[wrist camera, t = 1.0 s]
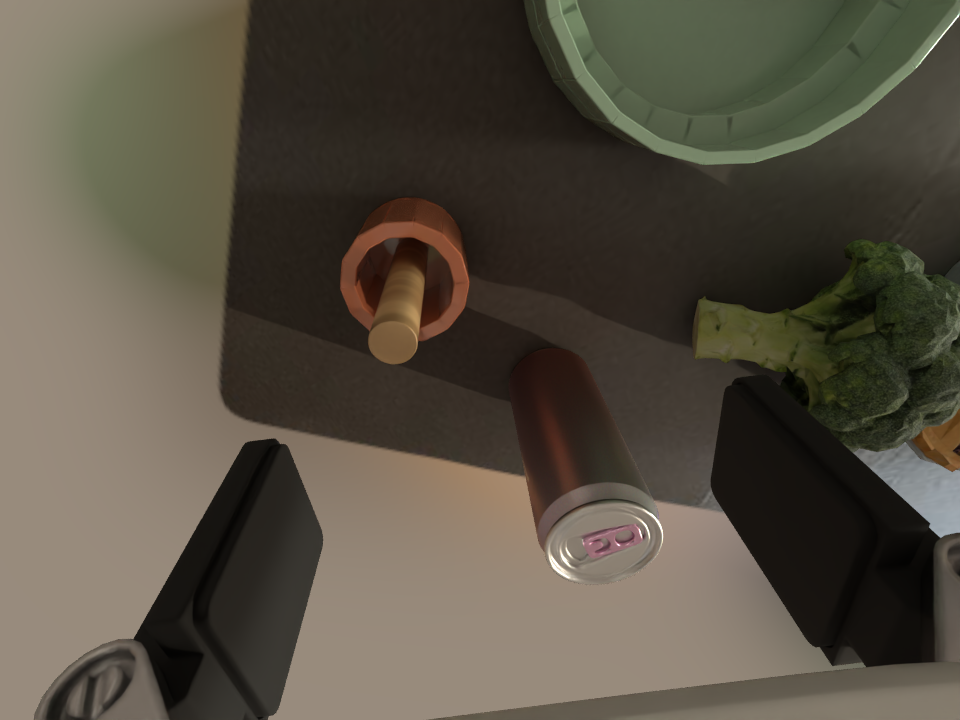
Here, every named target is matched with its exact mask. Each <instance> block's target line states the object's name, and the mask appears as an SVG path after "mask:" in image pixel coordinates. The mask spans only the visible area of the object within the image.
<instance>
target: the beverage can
mask: <svg viewBox="0 0 960 720" xmlns="http://www.w3.org/2000/svg"><path fill="white" fill-rule="evenodd" d="M509 394H510V399H511V404H512V409H513V414H514V419H515V425H516V430H517V435H518V440H519V445H520V450H521V455H522V460H523V466H524V471H525V476H526V481H527V486H528V491H529V496H530V501H531V506H532V512H533V517H534V522H535V527H536V532H537V537H538V541H539V544H540V546H541V548H542V549H543V551H544V553H545V557H546V560H547V562H548V564H549V566H550V567H551V569H552V570H553V571H554V572H555V573H556V574H557V575H559V576H560V577H562V578H564V579H566V580H568V581H571V582H574V583H578V584H585V585H602V584H609V583H614V582H617V581H621V580H623V579H626V578H629V577H631V576H633V575H635V574H636V573H638V572H640V571H641V570H642V569H644V568H645V567H647V566H648V565H649V564H650V563H651V562H652V561H653V560H654V558H655V557H656V556H657V554H658V553H659V551H660V548H661V545H662V542H663V531H662V527H661V524H660V522H659V515H658V510H657V507H656V504H655V502H654V500H653V498H652V496H651V494H650V492H649V490H648V488H647V486H646V484H645V482H644V480H643V478H642V476H641V474H640V472H639V470H638V468H637V466H636V464H635V462H634V460H633V458H632V456H631V454H630V452H629V449H628V447H627V445H626V443H625V441H624V439H623V437H622V435H621V433H620V431H619V429H618V427H617V425H616V423H615V421H614V419H613V417H612V415H611V413H610V411H609V409H608V407H607V405H606V403H605V401H604V399H603V397H602V395H601V392H600V390H599V388H598V386H597V384H596V382H595V380H594V378H593V376H592V374H591V372H590V370H589V368H588V366H587V364H586V363H585V362H584V360H583V359H582V358H581V357H579V356H578V355H577V354H575V353H573V352H571V351H568V350H565V349H560V348H547V349H542V350H538V351H536V352H533V353H531V354H529V355H528V356H526V357H525V358H524V359H523V360H521V361H520V362H519V363H518V365H517V366H516V367H515V369H514V370H513V372H512V374H511V377H510V380H509Z"/></svg>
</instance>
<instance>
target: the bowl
mask: <svg viewBox="0 0 960 720" xmlns="http://www.w3.org/2000/svg"><path fill="white" fill-rule="evenodd" d="M524 5H525V10H526V15H527V20H528V24H529V29H530V31H531V35H532V37H533V39H534V41H535V43H536V46H537V48H538V50H539V52H540V54H541V56H542V59H543V61H544V63H545V65H546V67H547V69H548V71H549V74H550V76H551V78H552V79H553V82H554V83H555V84H556V85H557V86H558V87H559V89H560V90H561V91H562V92H563V93H564V95H565V96H566V97H567V98H568V99H569V100H570V102H571V103H572V104H573V105H574V106H575V108H576V109H577V110H578V111H579V112H580V114H581V115H582V116H584V118H586V119H588V120H589V121H591V122H592V123H594V124H595V125H597V126H598V127H600V128H601V129H603V130H605V131H606V132H608V133H609V134H611V135H612V136H614V137H615V138H617V139H618V140H621V141H623V142H626V143H629V144H632V145H635V146H638V147H641V148H644V149H647V150H650V151H653V152H656V153H660V154H664V155H668V156H671V157H675V158H679V159H683V160H686V161H690V162H694V163H697V164H701V165H702V164H703V165H712V164H739V163H756V162H759V161H762V160H765V159H768V158H772V157H775V156H778V155H781V154H785V153H788V152H791V151H794V150H798V149H801V148H804V147H807V146H809V145H811V144H813V143H815V142H816V141H818V140H820V139H822V138H823V137H825V136H827V135H828V134H830V133H832V132H834V131H835V130H837V129H839V128H841V127H842V126H844V125H846V124H848V123H849V122H851V121H853V120H855V119H856V118H858V117H860V116H861V115H862V114H864V113H865V112H866V111H867V110H868V109H870V108H871V107H872V106H873V105H874V104H875V103H877V102H878V101H879V100H880V99H881V98H882V97H883V96H885V95H886V94H887V93H888V92H889V91H890V90H892V89H893V88H894V87H895V86H896V85H897V84H898V83H900V82H901V81H902V80H903V79H904V78H905V77H907V76H908V75H909V74H910V73H911V72H912V71H913V70H914V69H915V68H916V67H917V66H918V65H919V64H920V63H921V61H922V60H923V59H924V58H925V57H926V55H927V54H928V53H929V52H930V50H931V49H932V48H933V47H934V46H935V44H936V43H937V42H938V41H939V39H940V38H941V37H942V36H943V35H944V33H945V32H946V31H947V30H948V29H949V27H950V26H951V25H952V24H953V22H954V21H955V20H956V19H957V18H958V16H959V15H960V0H524Z"/></svg>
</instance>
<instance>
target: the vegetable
mask: <svg viewBox="0 0 960 720" xmlns="http://www.w3.org/2000/svg"><path fill="white" fill-rule="evenodd" d="M844 252H845V257H846V258H848V259H852V262H851V265H850V268H849V271H848V272H847V273H846V275H845V276H844V277H843V278H842V279H841V280H839V281H838V282H836V283H834V284H832V285H830V286H828V287H826V288H823V289H821V291H820V292H819V293H818V294H817V295H816V296H815V297H814V298H813V299H812V300H811V302H810V303H808V304H806V305H804V306H802V307H800V308H797V309H795V310H791V311H790V310H789V309H785V310H783V311H781V312H777V313H772V314H767V313H762V312H756V311H752V310H749V309H747V308H746V307H744V306H743V305H739V304H726V303H719V302H712V301H709V300H707V299H706V297H705V296H704V297H703V298H702V299H699V300H698V304H697V308H696V313H695V317H694V324H693V335H692V345H693V356H694V358H695V359H700V358H718V359H721V360H722V361H723V362H725V363H728V362H729V361H730V360H731V359H743V360H748V361H753V362H756V363H757V364H758V365H760V366H761V367H763V368H769V369H771V370H774V371H776V372H786V377H785V378H784V379H783V380H782V382H781V385H780V387H781V388H782V389H783V390H784V391H786V392H787V393H788V394H789V395H790V396H791V397H792V398H793V399H794V400H795V401H796V402H798V403H799V404H800V405H801V406H802V407H803V408H804V409H805V410H806V411H807V412H809V413H810V414H811V415H812V416H813V417H814V418H815V419H816V420H817V421H818V422H819V423H821V424H822V425H823V426H824V427H825V428H826V429H827V430H828V431H829V432H830V433H832V434H833V435H834V436H835V437H836V438H837V439H838V440H839V441H840V442H841V443H842V444H844V445H845V446H846V447H847V448H848V449H849V450H850V451H851V452H855V451H857V450H858V449H859V448H860V449H866V450H871V451H876V452H879V451H884V450H888V449H893V448H897V447H899V446H900V445H901V444H903V443H904V442H906V441H908V440H909V439H914V438H915V437H916V436H917V435H918V434H919V433H920V432H921V431H922V430H924V429H925V428H926V427H932V426H940V425H942V424H944V423H945V422H947V421H949V420H950V419H952V418H953V417H954V416H955V415H956V413H957V411H958V409H960V286H959V285H958V284H956V283H954V282H952V281H950V280H948V279H947V278H945V277H943V276H942V275H940V274H936V275H932V276H931V275H926V274H923V272H924V262H923V261H922V260H921V259H920V258H918V257H917V256H916V255H915V254H913V253H912V252H911V251H910V250H908V249H907V248H905V247H903V246H900V245H898V244H896V243H893V242H889V241H884V242H881V243H878V244H875V243H873V242H871V241H869V240H864V239H858V240H855V241H852V242H850V243H849V244H848V245H847V246H846V248H845V249H844ZM822 294H823V295H822ZM821 295H822V296H821Z"/></svg>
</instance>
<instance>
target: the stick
mask: <svg viewBox="0 0 960 720" xmlns="http://www.w3.org/2000/svg"><path fill="white" fill-rule="evenodd" d="M427 260H428V251H427V248H426V246H425V245H424V244H423V243H422V242H421V241H419V240H417V239H415V238H407V239H404V240H402V241H401V242H400V243H399V244H398V245H397V248H396V250H395V254H394V257H393V260H392V263H391V266H390V269H389V273H388V276H387V279H386V282H385V285H384V288H383V292H382V295H381V298H380V301H379V304H378V307H377V311H376V314H375V317H374V320H373V323H372V327H371V330H370V333H369V336H368V346H369V349H370V351H371V352H372V354H373V355H374V356H375V357H376V358H377V359H379V360H380V361H382V362H385V363H388V364H400V363H403V362H405V361H407V360H409V359H410V358H411V357H412V356H413V355H414V354H415V352H416V350H417V345H418V336H419V328H420V319H421V311H422V302H423V294H424V285H425V277H426V268H427Z"/></svg>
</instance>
